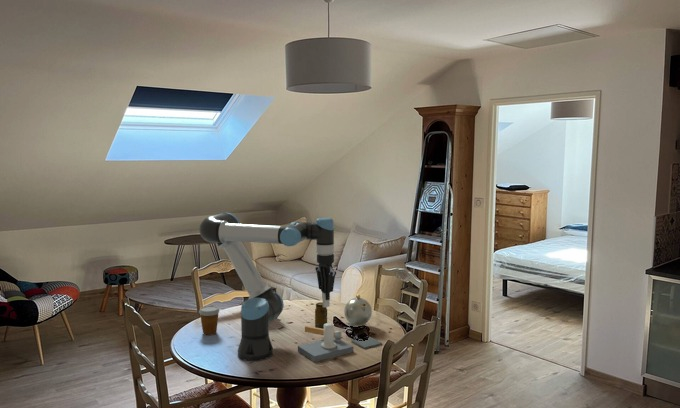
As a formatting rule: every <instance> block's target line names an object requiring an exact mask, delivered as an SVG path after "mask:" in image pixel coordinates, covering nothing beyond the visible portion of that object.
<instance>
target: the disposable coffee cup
mask: <svg viewBox="0 0 680 408" xmlns="http://www.w3.org/2000/svg"><path fill="white" fill-rule="evenodd" d="M198 313H199V316H200V321H201V328H202V334H203V333H204V334H207V335H206V336H210V335H209V334H213V335H216V334H217V332H218V322H219V313H220V309H219V307H218V306H216V305H215V306H214V305H207V306H202V307H200V308H199V311H198ZM204 334H203V335H204Z"/></svg>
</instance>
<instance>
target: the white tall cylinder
mask: <svg viewBox="0 0 680 408" xmlns="http://www.w3.org/2000/svg"><path fill="white" fill-rule="evenodd" d="M334 331H335V325H334V323H331V322H327V323H326V324H324V336H323V340H324V342H323V343H321V347H322V348H324V349H334V348H336V343H335V342H334Z"/></svg>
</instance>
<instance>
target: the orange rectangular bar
mask: <svg viewBox="0 0 680 408" xmlns="http://www.w3.org/2000/svg"><path fill="white" fill-rule="evenodd" d="M311 326H312V325H311ZM311 326H309V325H305V326H304V332H305V333H309V334H314V335H319V336H323V337H324V329H321V328H316V327H311ZM334 338H335V339H341V340H342V331H341V330H334Z"/></svg>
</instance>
